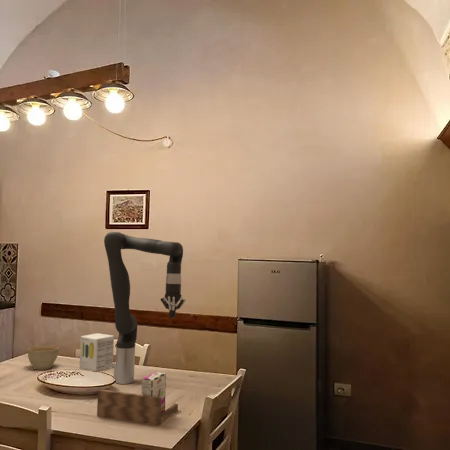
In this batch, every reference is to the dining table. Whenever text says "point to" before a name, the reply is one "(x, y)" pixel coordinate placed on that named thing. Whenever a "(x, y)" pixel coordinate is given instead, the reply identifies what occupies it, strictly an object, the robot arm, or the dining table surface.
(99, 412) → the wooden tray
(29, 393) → the dining table surface
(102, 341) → the supplement box
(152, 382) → the candy bar box
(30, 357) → the planter bowl
